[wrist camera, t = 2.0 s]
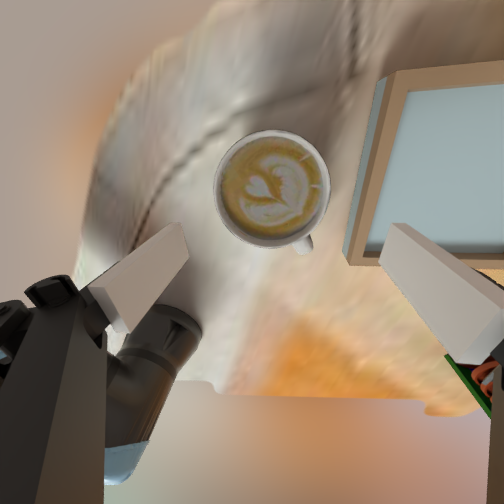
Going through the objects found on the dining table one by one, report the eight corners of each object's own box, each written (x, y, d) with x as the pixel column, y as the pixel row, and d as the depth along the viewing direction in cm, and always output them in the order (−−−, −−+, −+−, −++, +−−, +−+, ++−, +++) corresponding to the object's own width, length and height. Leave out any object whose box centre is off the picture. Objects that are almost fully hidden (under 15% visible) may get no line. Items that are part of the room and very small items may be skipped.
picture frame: (338, 244, 28) (349, 265, 24) (368, 87, 19) (396, 70, 15) (478, 246, 26) (521, 269, 21) (586, 67, 17) (703, 39, 12)
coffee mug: (223, 153, 24) (191, 161, 16) (301, 116, 21) (315, 102, 13) (260, 243, 30) (252, 284, 21) (326, 223, 27) (347, 262, 19)
